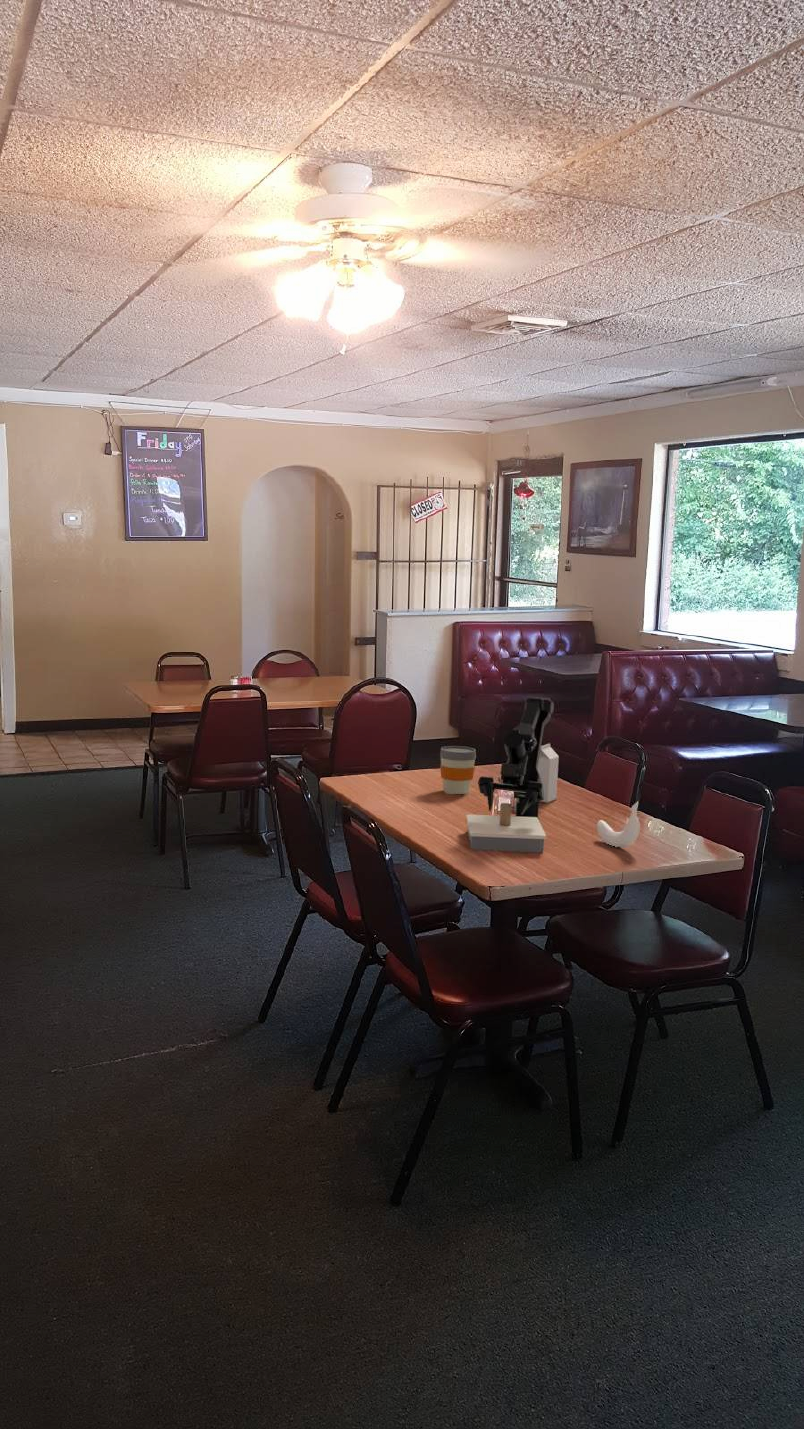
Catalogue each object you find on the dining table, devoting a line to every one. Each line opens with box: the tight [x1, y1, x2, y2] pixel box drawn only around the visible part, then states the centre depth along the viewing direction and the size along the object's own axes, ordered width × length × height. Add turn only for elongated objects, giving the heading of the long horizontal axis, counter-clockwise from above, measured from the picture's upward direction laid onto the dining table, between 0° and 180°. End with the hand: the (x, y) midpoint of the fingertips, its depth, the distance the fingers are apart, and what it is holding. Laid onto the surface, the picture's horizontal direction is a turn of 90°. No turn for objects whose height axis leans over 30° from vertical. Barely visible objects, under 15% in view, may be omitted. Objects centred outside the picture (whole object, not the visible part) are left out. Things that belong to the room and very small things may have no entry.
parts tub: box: [467, 826, 545, 853], centre depth 308 cm, size 20×20×4 cm
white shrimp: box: [596, 801, 641, 849], centre depth 307 cm, size 5×19×15 cm, turn 28°
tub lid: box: [465, 802, 547, 840], centre depth 307 cm, size 21×21×8 cm
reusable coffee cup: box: [439, 745, 477, 795], centre depth 369 cm, size 13×13×15 cm
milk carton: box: [538, 743, 560, 804], centre depth 362 cm, size 7×7×19 cm
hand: (505, 812), depth 306 cm, fingers open, 9 cm apart
